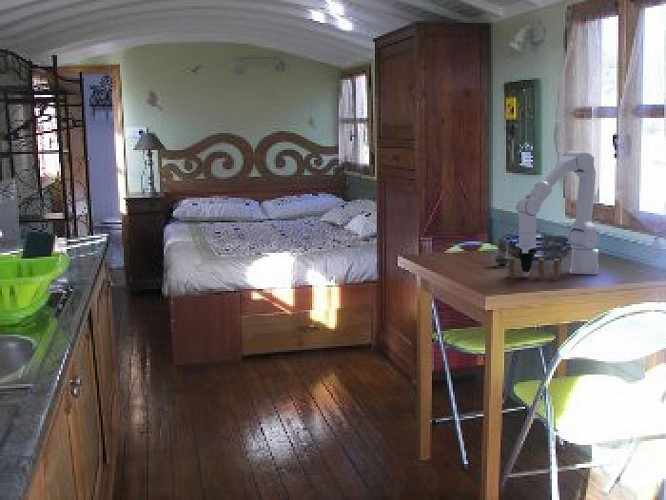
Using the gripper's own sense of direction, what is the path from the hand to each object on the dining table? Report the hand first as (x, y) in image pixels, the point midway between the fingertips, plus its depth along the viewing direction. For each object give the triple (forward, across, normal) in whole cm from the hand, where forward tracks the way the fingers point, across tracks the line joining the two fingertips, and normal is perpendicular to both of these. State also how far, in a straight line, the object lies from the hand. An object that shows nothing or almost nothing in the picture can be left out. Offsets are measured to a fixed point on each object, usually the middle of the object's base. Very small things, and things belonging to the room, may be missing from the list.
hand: (526, 270), depth 271 cm
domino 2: (+2, 0, 0) cm, 2 cm away
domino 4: (+3, 0, +10) cm, 10 cm away
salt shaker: (+3, -20, -11) cm, 23 cm away
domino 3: (+3, 0, +5) cm, 6 cm away
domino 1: (+3, 0, -5) cm, 6 cm away
